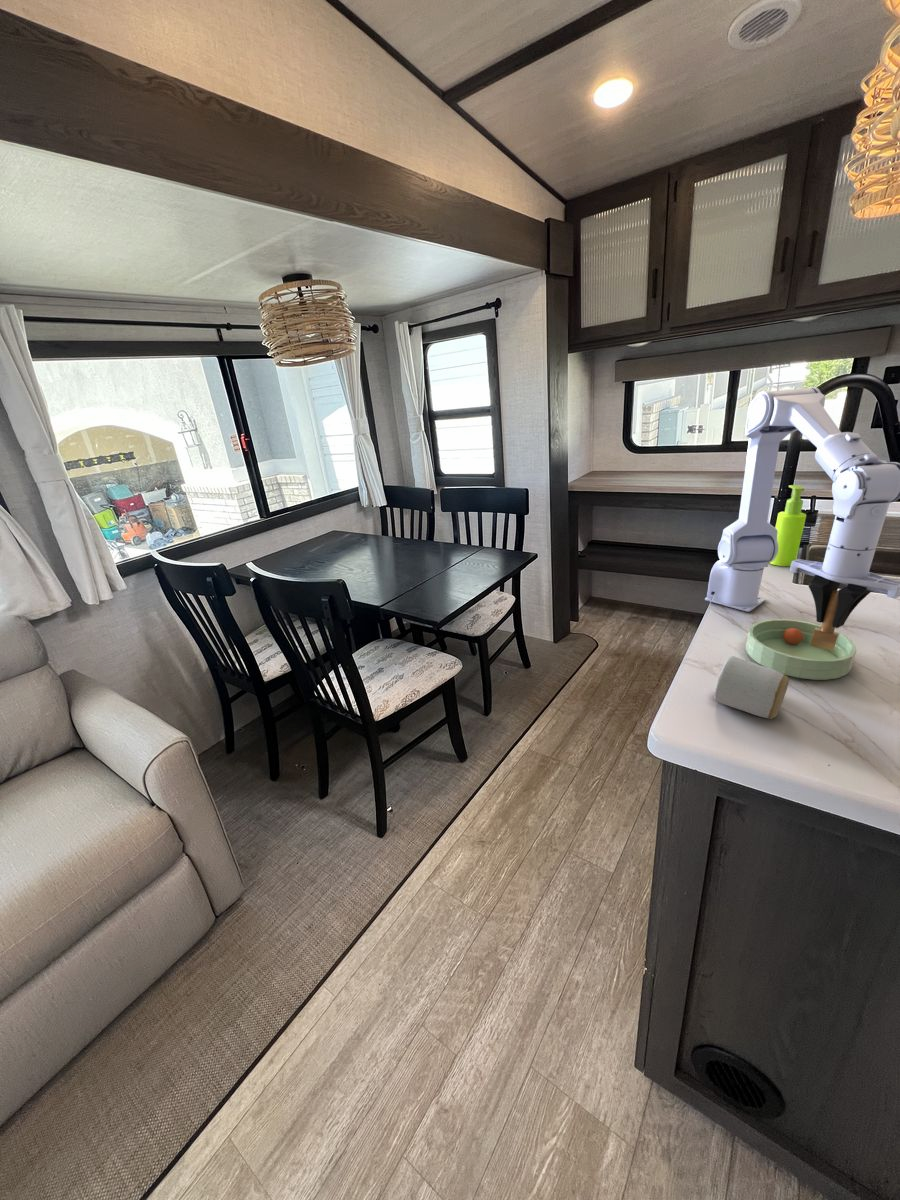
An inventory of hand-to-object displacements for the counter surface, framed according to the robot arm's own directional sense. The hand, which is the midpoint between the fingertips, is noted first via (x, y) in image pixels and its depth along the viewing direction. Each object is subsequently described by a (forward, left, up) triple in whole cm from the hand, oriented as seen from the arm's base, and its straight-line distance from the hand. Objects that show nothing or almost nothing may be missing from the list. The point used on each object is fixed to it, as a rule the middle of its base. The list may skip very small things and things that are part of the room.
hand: (830, 623), depth 77 cm
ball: (-6, +4, -6) cm, 9 cm away
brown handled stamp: (0, -1, -4) cm, 4 cm away
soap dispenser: (-23, +49, -8) cm, 55 cm away
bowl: (-3, 0, -8) cm, 9 cm away
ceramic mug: (-3, -19, -8) cm, 21 cm away
